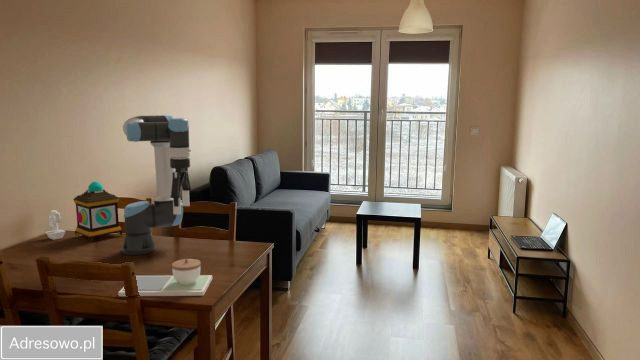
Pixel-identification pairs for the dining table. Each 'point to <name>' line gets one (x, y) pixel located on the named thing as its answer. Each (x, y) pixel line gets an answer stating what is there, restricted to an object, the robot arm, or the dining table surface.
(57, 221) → the figurine
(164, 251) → the dining table surface
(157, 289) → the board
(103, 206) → the decorative lantern
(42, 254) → the dining table surface
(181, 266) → the lidded jar
